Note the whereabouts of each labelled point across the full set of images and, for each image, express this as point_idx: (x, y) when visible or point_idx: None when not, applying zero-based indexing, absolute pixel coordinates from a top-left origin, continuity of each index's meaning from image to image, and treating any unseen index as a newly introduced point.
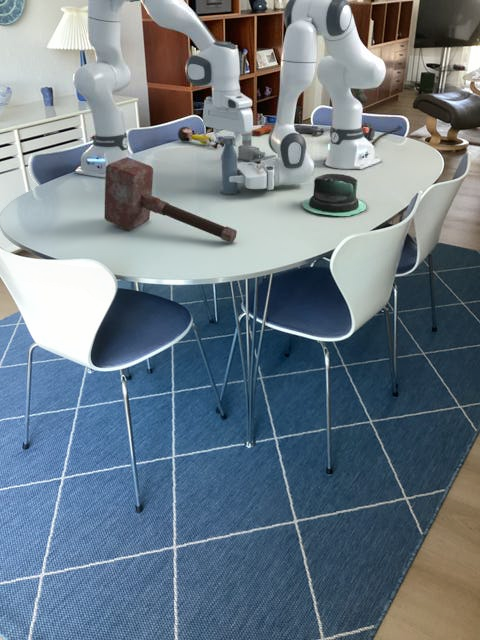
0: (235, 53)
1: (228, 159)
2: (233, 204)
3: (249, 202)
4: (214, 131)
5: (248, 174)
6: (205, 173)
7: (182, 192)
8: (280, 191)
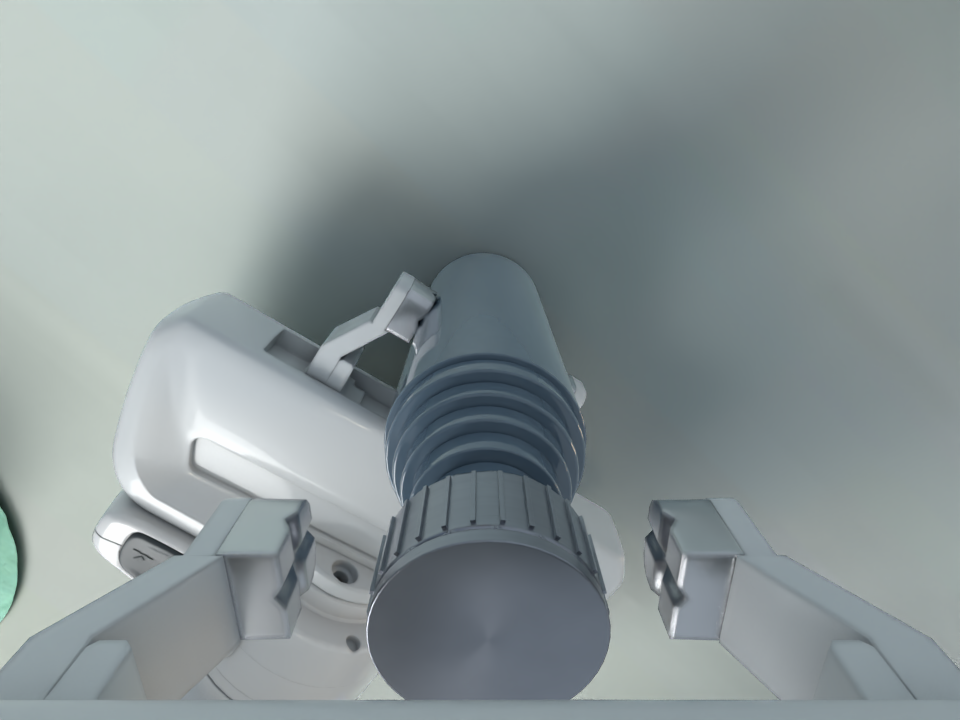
0: None
1: (416, 368)
2: (235, 117)
3: (197, 237)
4: (887, 638)
5: (255, 399)
6: (937, 487)
7: (795, 31)
8: None
